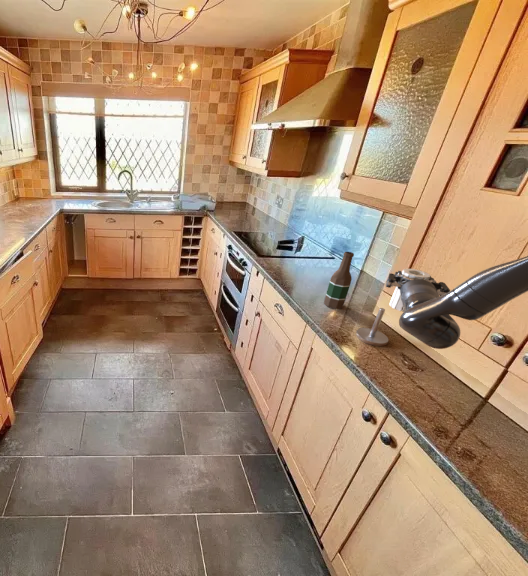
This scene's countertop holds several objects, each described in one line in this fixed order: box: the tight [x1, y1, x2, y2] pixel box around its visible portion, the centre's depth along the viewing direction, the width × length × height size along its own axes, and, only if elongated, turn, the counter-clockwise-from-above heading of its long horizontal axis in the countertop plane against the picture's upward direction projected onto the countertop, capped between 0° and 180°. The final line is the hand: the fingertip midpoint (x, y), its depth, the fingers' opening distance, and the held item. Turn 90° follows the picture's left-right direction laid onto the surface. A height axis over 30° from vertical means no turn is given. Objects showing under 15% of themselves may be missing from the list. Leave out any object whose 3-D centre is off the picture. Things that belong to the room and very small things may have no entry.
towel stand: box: [355, 307, 389, 347], centre depth 109 cm, size 10×10×12 cm
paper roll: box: [388, 268, 431, 313], centre depth 95 cm, size 6×6×12 cm
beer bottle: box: [323, 251, 355, 310], centre depth 127 cm, size 8×8×24 cm
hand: (412, 276), depth 95 cm, fingers closed on paper roll, 6 cm apart
